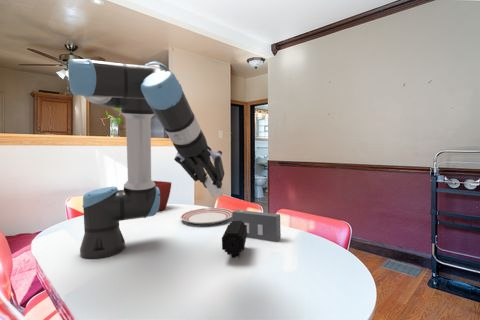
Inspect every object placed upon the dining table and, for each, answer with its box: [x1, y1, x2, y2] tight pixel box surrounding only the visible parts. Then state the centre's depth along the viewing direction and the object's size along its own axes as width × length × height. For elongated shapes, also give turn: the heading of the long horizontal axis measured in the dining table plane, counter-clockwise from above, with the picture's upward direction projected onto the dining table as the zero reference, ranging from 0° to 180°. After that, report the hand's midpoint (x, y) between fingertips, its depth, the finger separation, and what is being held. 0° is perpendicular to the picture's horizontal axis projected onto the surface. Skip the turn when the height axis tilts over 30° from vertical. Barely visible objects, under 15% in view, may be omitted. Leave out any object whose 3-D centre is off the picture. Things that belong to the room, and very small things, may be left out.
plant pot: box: [152, 180, 172, 212], centre depth 168 cm, size 19×19×17 cm
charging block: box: [231, 209, 282, 243], centre depth 114 cm, size 4×20×10 cm, turn 60°
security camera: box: [221, 220, 248, 258], centre depth 97 cm, size 7×18×10 cm, turn 174°
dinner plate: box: [180, 207, 234, 226], centre depth 143 cm, size 27×27×3 cm
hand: (217, 192), depth 82 cm, fingers closed
